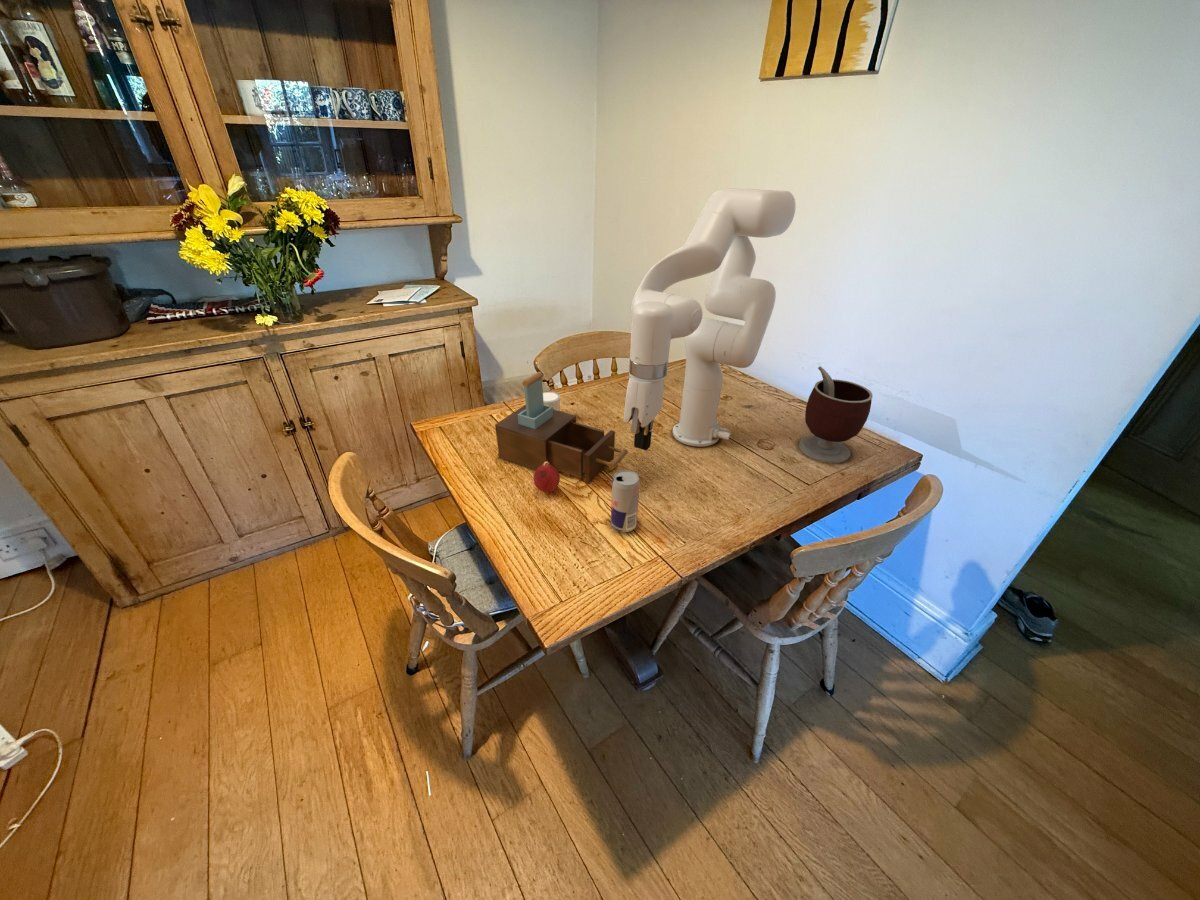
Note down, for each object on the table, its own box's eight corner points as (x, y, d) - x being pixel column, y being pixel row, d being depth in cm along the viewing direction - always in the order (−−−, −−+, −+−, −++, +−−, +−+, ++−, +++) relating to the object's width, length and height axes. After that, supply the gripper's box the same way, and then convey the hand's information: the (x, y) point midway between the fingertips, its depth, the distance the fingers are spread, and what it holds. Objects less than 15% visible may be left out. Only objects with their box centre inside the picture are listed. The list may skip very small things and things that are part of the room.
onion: (549, 502, 101) (547, 473, 96) (529, 494, 103) (526, 464, 99) (565, 489, 105) (564, 460, 101) (545, 480, 107) (543, 452, 103)
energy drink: (609, 516, 97) (610, 470, 91) (634, 515, 98) (637, 468, 91) (612, 533, 93) (613, 486, 86) (638, 532, 93) (642, 485, 87)
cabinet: (577, 448, 120) (576, 415, 114) (547, 474, 110) (545, 440, 104) (531, 433, 126) (528, 402, 120) (499, 457, 115) (494, 424, 110)
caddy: (553, 416, 114) (550, 372, 108) (535, 429, 109) (531, 384, 102) (536, 411, 116) (533, 368, 110) (518, 424, 111) (513, 379, 104)
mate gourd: (865, 458, 117) (893, 386, 106) (823, 469, 112) (848, 395, 101) (819, 429, 129) (840, 362, 118) (780, 439, 124) (798, 370, 113)
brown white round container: (557, 425, 130) (556, 403, 126) (534, 422, 131) (532, 400, 127) (563, 414, 135) (563, 392, 131) (541, 411, 136) (540, 390, 133)
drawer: (632, 463, 112) (633, 436, 108) (608, 490, 103) (608, 462, 99) (568, 443, 120) (567, 417, 115) (540, 467, 110) (538, 439, 106)
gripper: (646, 352, 97) (640, 428, 107) (613, 376, 86) (610, 458, 96) (679, 359, 94) (670, 436, 104) (650, 385, 83) (643, 469, 93)
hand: (642, 447), depth 100 cm, fingers closed
